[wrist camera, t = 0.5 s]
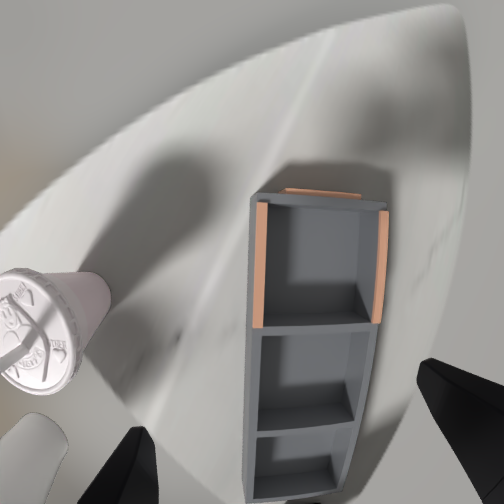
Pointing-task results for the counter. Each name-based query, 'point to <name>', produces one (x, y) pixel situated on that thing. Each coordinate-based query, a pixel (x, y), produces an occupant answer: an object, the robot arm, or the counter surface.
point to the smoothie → (47, 325)
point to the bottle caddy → (309, 337)
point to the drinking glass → (30, 459)
